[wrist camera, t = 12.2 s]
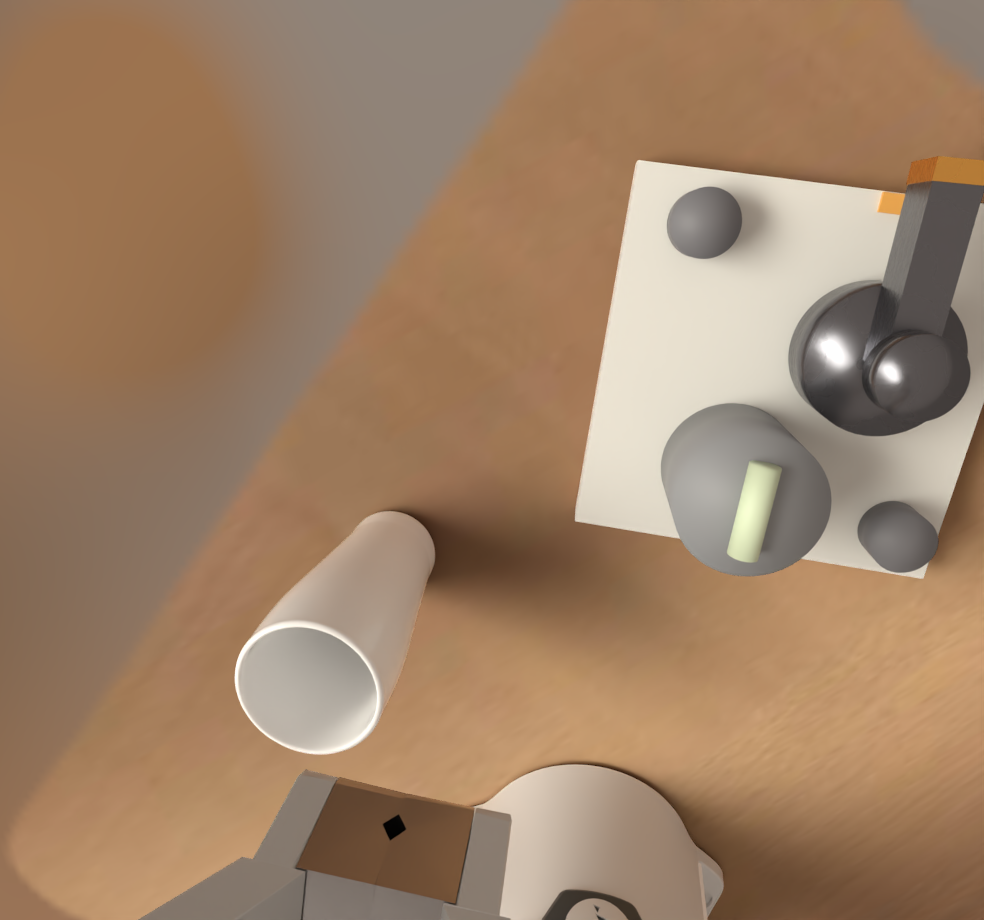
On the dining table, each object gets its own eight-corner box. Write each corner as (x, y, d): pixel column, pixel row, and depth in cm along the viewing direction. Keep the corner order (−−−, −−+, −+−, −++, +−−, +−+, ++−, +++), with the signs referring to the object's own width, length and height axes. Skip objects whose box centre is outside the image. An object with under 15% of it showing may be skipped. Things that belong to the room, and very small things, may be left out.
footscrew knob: (915, 429, 37) (986, 471, 31) (774, 411, 38) (814, 449, 31) (988, 177, 34) (1086, 164, 27) (830, 162, 34) (889, 145, 28)
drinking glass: (443, 494, 44) (375, 620, 30) (453, 597, 46) (393, 760, 32) (335, 497, 45) (218, 620, 31) (348, 597, 47) (245, 756, 33)
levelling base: (907, 563, 42) (993, 651, 33) (575, 508, 43) (572, 579, 34) (1024, 212, 36) (1167, 206, 27) (635, 163, 37) (650, 142, 29)
